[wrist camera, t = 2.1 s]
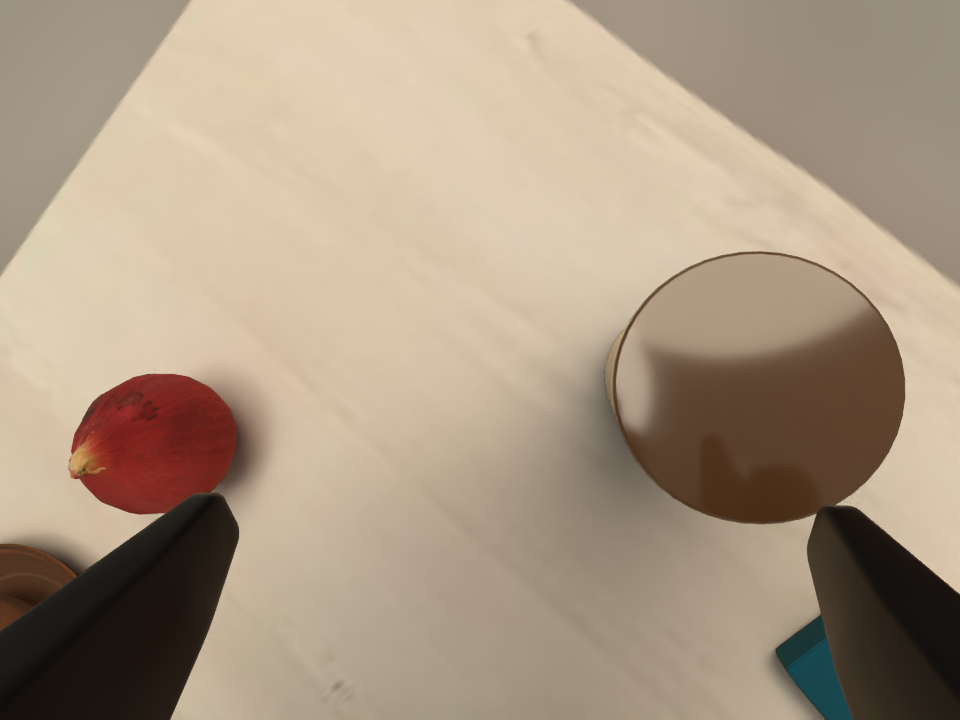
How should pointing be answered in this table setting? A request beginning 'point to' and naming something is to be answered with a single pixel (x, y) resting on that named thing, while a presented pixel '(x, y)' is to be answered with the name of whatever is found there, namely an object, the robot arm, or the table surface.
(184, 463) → the onion
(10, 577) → the cup and saucer
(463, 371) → the table surface
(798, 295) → the spice jar
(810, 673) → the popsicle
